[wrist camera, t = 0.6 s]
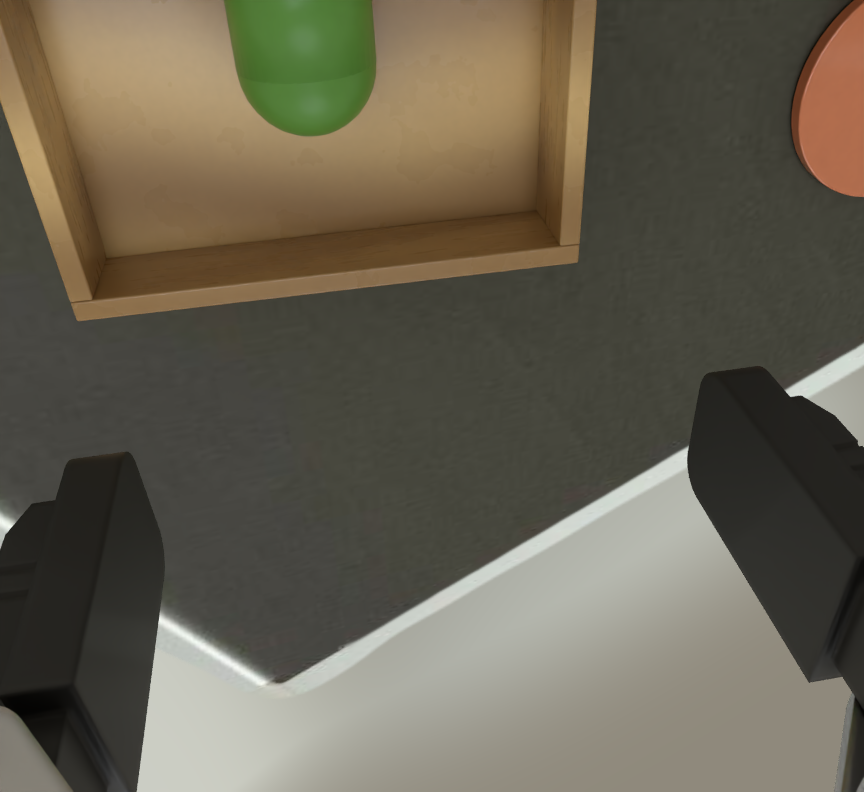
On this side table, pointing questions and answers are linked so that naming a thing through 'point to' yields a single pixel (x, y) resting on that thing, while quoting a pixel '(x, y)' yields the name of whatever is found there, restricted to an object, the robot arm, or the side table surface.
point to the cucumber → (304, 60)
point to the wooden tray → (295, 152)
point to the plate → (833, 105)
